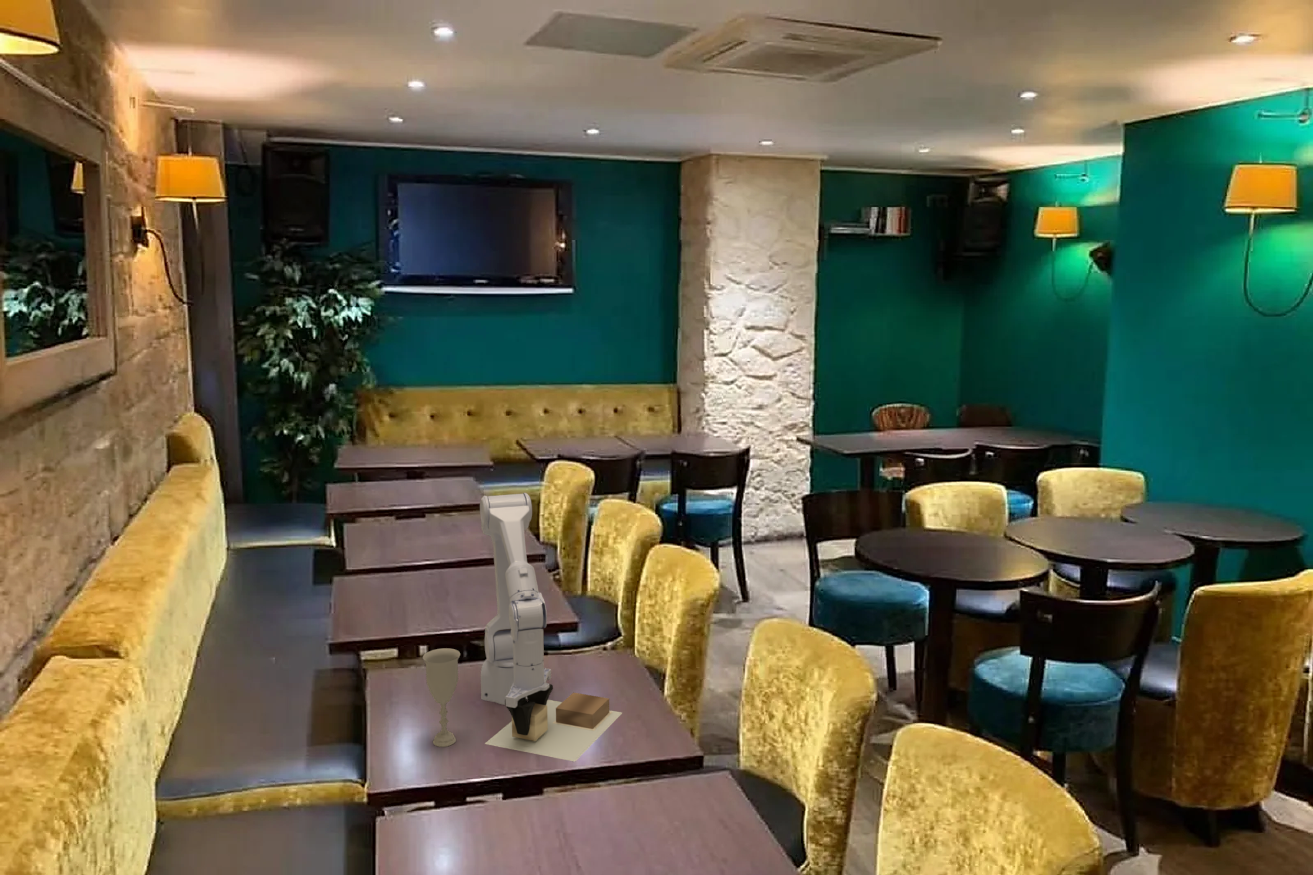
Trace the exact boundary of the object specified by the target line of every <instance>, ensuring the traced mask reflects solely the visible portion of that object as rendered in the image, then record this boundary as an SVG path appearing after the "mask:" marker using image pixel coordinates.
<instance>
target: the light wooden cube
mask: <svg viewBox="0 0 1313 875" xmlns="http://www.w3.org/2000/svg"><path fill="white" fill-rule="evenodd" d="M511 721H512V737H517V738H523V739H528V740H533V741H536V740H537V739H538V738H539V737H540V736H541V735H543V734H544V733H545V732H546V731H547V730H548V720H547V705H542V704H536V703H535V705H534V707H533V710H532V713H531V718H530V729H529V733H528V735H521V734H517V730H516V727H515V724H514V720H513V718H512V717H511Z"/></svg>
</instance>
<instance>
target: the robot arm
mask: <svg viewBox="0 0 1313 875" xmlns="http://www.w3.org/2000/svg"><path fill="white" fill-rule="evenodd" d="M479 514H480V528H481V529H480V530H481V531H482V535H485V536H488V537H490V539H491V543H492V549H493V563H494V578H495V579H494V580H495V594H496V596H495V598H496V609H497V613H496V615H495V616H494V617H493V618H492V619H491V620H489V621H488V622H487V623H486V625H485V628H484V633H485V634H484V651H485V657H486V659H485V660H484V662H483V663H482V666H481V669H480V698H481V700H482V701H486V702H487V701H488V702H493V703H496V704H498V705H502V706H503V705H504V706H505V708H506V709H507V710H508V711H509V713H510V715H511V719H512V718H513V720H514V724H515V727H516V730H517V734H521V735H528V733H529V729H530V718H531V713H532V710H533V707H534V705H535V703H536V704H542V705H546V704H547V700H549V698H550V695H551V693H552V691H553V689H554V685H553V684H552V683H548V682H547V681H550V680H551V679H552V669H551V668H546V667H545V663H544V662H545V660H544V658H545V657H544V656H545V655H544V653H545V650H544V629H545V628H547V624H548V623H547V622H548V613H547V612H548V610H547V606H546V602H545V599H544V597H543V594H542V592H540V591H539V586H538V582H537V581H538V580H537V576H536V575H537V574H536V571H535V567H534V566H533V565H532V564H530V563H528V558H527V547H526V537H525V531H526V530H527V529H528V528H529V526H530V522H531V520H532V518H533V517H532V516H533V504H532V499H531V496H530V495H529V494H528V493H527V492H522V493H513V494H512V493H511V494H501V495H499V494H498V495H483V496H482V497H481V498H480V502H479Z"/></svg>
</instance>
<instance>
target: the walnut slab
mask: <svg viewBox="0 0 1313 875" xmlns="http://www.w3.org/2000/svg"><path fill="white" fill-rule="evenodd" d="M561 702H562V703H561V704H560V705H559V706H558V707H556V722H557V723H562V724H568V725H573V726H579V727H584V728H589V729H593V728H594V727H595V726H596V725H597V724H598V723H599V722H600V721H601V720H602V719H603V718H604V717H605V716H606V715H607V714H608V713H609V710H610V698H609V697H604V696H597V695H590V694H585V693H580V692H574V691H573V692H572V693H571V694H570V695H569V696H567V698H566V699H564V700H563V701H561Z"/></svg>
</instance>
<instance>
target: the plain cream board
mask: <svg viewBox="0 0 1313 875" xmlns="http://www.w3.org/2000/svg"><path fill="white" fill-rule="evenodd" d="M562 702H563V701H557V700H552V699H548V700H547V704H546V705H547V720H548V730H547V731H546V732H545V733H544V734H543V735H541V736H540V737H539V738H538V739H537V740H536V741H533V740H528V739H523V738H517V737H512V720H511V721H510V722H509V723H507V724H506V725H505V726H504V727H502V728H501V730H499V731H498V732H497V733H496V734H494V735H493V736H492V737H491V738H489V739H488V741H486V742H485V743H484V745H488V746H493V747H494V746H495V747H499V748H504V749H509V750H515V751H519V752H525V753H528V754H529V753H530V754H533V755H534V754H535V755H540V756H545V757H550V758H554V759H560V760H564V761H571V762H573V763H574V762H576V761H578V759H580V758H581V757H582V755H583V754H584V753H585V752H586V751H587V750H588V749H589V748H590V747H591V746H592V745H593V744H594V743H595V742H596V741H597V739H599V738H600V737H601V736H602V735H603V734H604V733H605V732H606V730H608V728H610V726H611V725H613V723H614V722H615V721H616V720H617V719H618V718H619V717H620V716H621V715H622V714H623V712H621V711H615V710H610V709H609V713H608V714H607V715H606V716H605V717H604V718H603V719H602V720H601V721H600V722H599V723H598V724H597V725H596V726H595V727H594V728H593V729H589V728H584V727H579V726H573V725H568V724H562V723H557V722H556V707H558V706H559V705H560V704H561V703H562Z"/></svg>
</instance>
